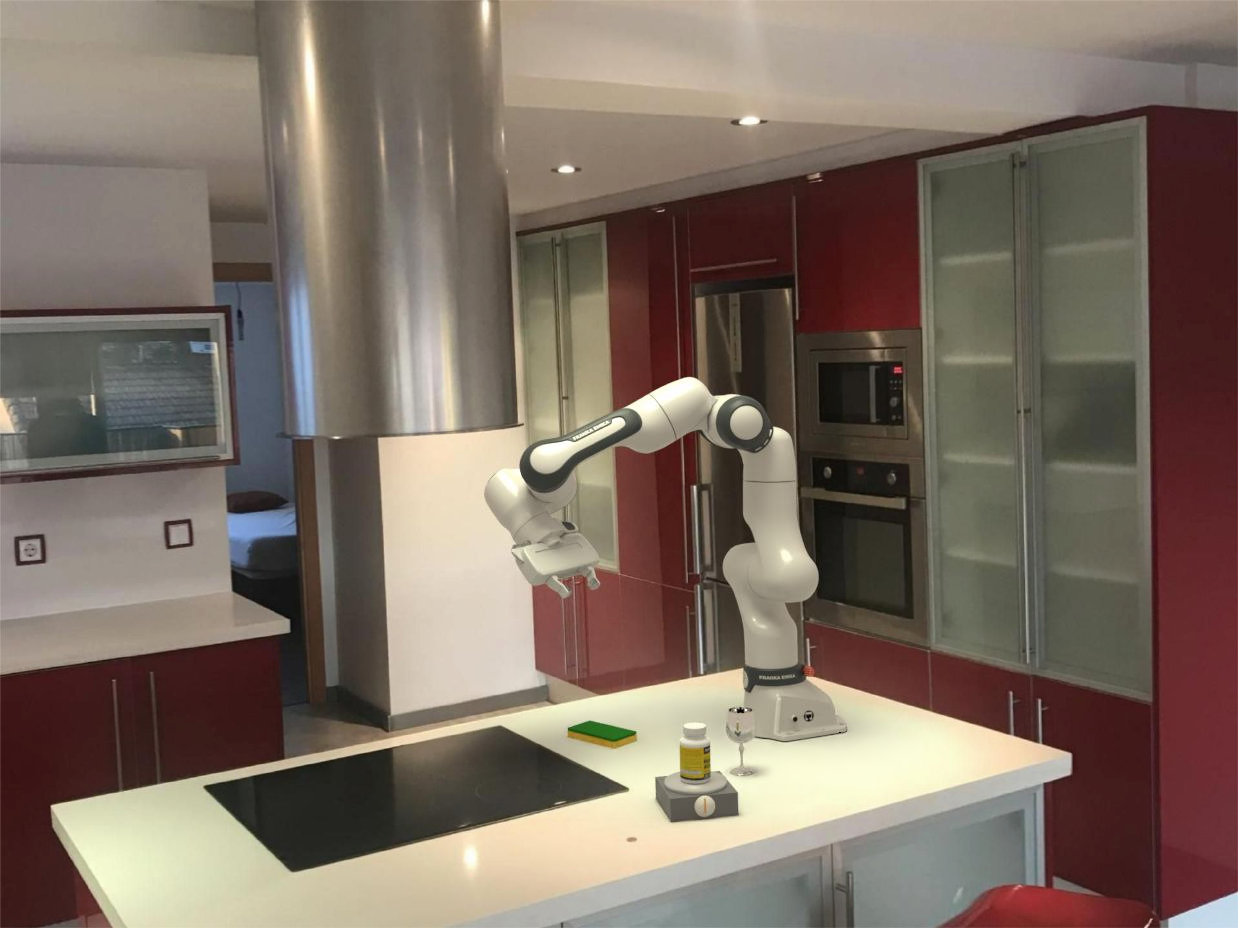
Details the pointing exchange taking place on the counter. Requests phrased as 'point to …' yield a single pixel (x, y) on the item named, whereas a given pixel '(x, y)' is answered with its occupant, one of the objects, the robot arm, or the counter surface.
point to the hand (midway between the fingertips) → (582, 591)
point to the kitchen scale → (696, 797)
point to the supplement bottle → (695, 754)
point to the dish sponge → (602, 734)
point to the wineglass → (741, 732)
